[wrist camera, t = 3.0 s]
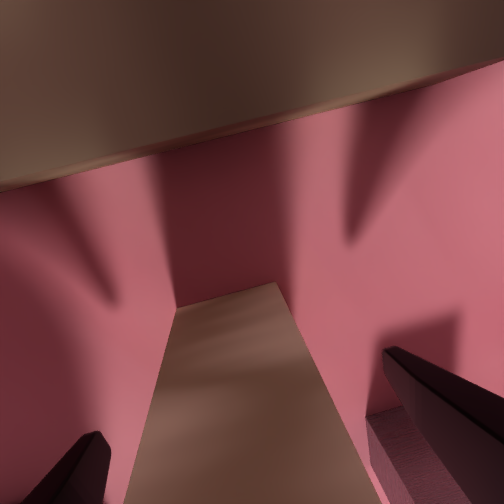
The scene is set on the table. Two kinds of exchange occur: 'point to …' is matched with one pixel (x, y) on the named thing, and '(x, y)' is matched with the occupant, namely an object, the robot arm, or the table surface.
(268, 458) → the maple pin
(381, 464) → the metal stub
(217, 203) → the table surface
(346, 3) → the walnut sleeve block
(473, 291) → the table surface
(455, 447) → the robot arm
